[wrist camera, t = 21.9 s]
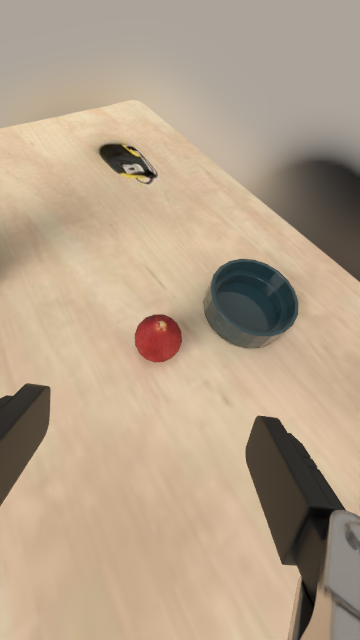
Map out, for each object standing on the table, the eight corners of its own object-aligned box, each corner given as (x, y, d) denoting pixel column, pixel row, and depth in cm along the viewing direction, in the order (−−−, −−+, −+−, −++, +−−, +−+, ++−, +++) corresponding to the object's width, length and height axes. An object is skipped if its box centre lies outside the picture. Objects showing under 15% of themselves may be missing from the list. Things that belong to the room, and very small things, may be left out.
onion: (128, 338, 34) (126, 309, 27) (165, 323, 36) (172, 293, 29) (145, 376, 32) (148, 356, 25) (184, 358, 34) (196, 335, 27)
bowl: (186, 300, 39) (192, 283, 35) (242, 265, 44) (252, 247, 40) (244, 365, 35) (258, 355, 31) (297, 319, 40) (315, 305, 36)
